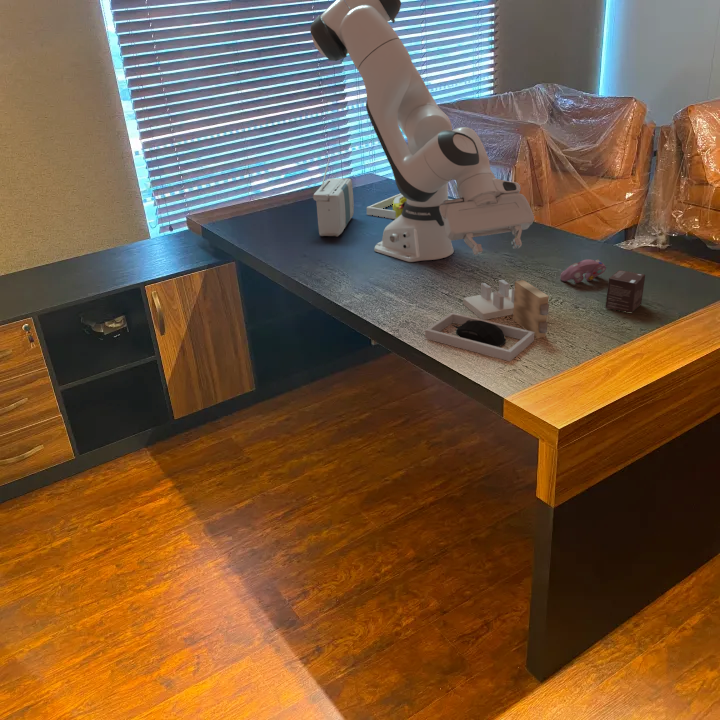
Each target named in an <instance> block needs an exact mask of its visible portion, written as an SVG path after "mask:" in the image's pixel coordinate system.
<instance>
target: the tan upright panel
mask: <svg viewBox="0 0 720 720" xmlns="http://www.w3.org/2000/svg"><path fill="white" fill-rule="evenodd" d="M514 288H515V292H514V312H513V314H512V315H513V316H512V320H513V321H514V323H516V324H518V325H519V326H521V328H522V329H524V330H528V331H532V332H534V338H536V339H539V338H545V337H546V336H547V333H548V324H549V323H548V315H549V312H550V311H549V309H550V308H549V307H550V305H549V299H550V298H549V297H550V296H549V295H548V294H546V293H544V292H543V291H542V290H540V289H538V288H537V287H535V286H534V285H532V284H530V283H529V282H527V281H526V280H524V279H521V280H516V281H514Z"/></svg>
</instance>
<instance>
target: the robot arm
mask: <svg viewBox="0 0 720 720" xmlns="http://www.w3.org/2000/svg"><path fill="white" fill-rule="evenodd" d="M401 5H402V2H401V0H335V1H333V3H331V4H330V5H329V6H328V7H327V8H326V9H325V10H324V11H323V12H322V13H321V15H320V14H318V16H317V17H316V18H315V19H314V20H313V22H312V23H311V25H310V33H311V39H312V42H313V45H314V47H315V48H316V50H317V51H318V52H319V54H321V55H322V56H323V57H325V58H326V59H328V60H329V61H334V62H337V61H340V60H343V59H344V58H346V57H347V55H349V57H350V59H351V61H352V62H353V64H354V66H355V68H356V70H357V71H358V73H359V74H360V76H361V78H362V81H363V83H364V87H365V91H366V92H365V93H366V103H365V108H366V112H367V115H368V118H369V121H370V123H371V126H372V127H373V129H374V132H375V134H376V137H377V139H378V141H379V143H380V145H381V148H382V150H383V153H384V154H385V157H386V158H387V159H386V160H387V161H388V163H389V165H390V168H391V171H392V174H393V178H394V181H395V185H396V188H397V189H398V191H399V194H400V193H401V194H402V195H403V196H404V197H405V198H407V201H406V202H404V203H403V204H401V205H399V206H401V207H399V209H402V208H403V211H402V214H401V215H400V216H399V217H398V218H396V219H393V221H390V223H388V224H387V225H386V226H385V228H384V229H383V233H382V239H381V241H380V242H377V243H376V244H375V246H374V252H377V253H380V254H383V255H385V256H390V257H392V258H395V259H399V260H401V261H405V262H407V263H414V262H420V261H432V260H433V261H435V260H440V259H443V258H448V257H449V256H451V255H452V254H453V253H454V251H455V250H454V247H453V244H452V241H459V240H463V241H464V243H465V244H466V245H467V247H469V248H470V249H472V253H473V255H474V256H476V255H481V254H482V253H483V248H482V246H483V245H482V244H481V243H477V242H476V241H475V240H474V239H473V238H477V237H485V236H492V235H497V234H499V235H500V234H503V233H512V235H513V236H514V238H513V239H512V240H511V246H512V249H521V247H522V245H523V243H522V240H521V236H522V234H523V233H522V232H523V231H525V230H528V229H529V228H530V227H531V225H533V222H534V220H535V217H534V216H535V215H534V213H533V211H532V208H531V206H530V203H529V201H528V199H527V197H526V196H525V195H524V194H522V193H520V192H521V190H522V188H521V185H520V184H519V182H515V181H508V180H503V179H499V178H496V176H495V174H494V173H493V172H492V170H491V165H490V159H489V155H488V152H487V150H486V148H485V146H484V144H483V141H482V140H481V138H480V137H479V135H478V134H477V132H476V131H475V130H474V129H473V128H470V127H465V126H464V127H463V126H462V127H456V128H454V129H453V125H452V122H451V119H450V118H449V116H448V115H447V114H446V113H445V112H444V111H443V110H442V109H441V108H440V106H439V105H438V104H437V102H436V100H435V99H434V97H433V95H432V94H431V92H430V90H429V88H428V86H426V84H425V82H424V80H423V78H422V76H421V74H420V73H419V71H418V69H417V68H416V66H415V64H414V63H413V61H412V58H411V56H410V54H409V51H408V49H407V48H406V46H405V45H404V43H403V42H402V40H401V38H400V37H399V35H398V34H397V33H396V30H394V28H393V27H392V25H390V24H389V22H392V24H394V23H395V22H396V17H397V16H398V14H399V13H400V11H401V7H402V6H401ZM403 134H404V136H405V137H406V138H407V142H406V139H405V137H404V136H403ZM452 180H453V181H455V182H456V191H457V194H458V197H459V198H452V199H453V200H448V199H449V183H450V182H451V181H452Z"/></svg>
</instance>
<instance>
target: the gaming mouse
mask: <svg viewBox="0 0 720 720" xmlns="http://www.w3.org/2000/svg"><path fill="white" fill-rule="evenodd" d="M451 325H452V327H454V328H455V334H456V336H458V337H462V338H466V339H469V340H473V341H477V342H481V343H485V344H489V345H492V346H496V347H501V346H503V345H504V344H505V343H506V341H507V339H506V336H505V335H504V334H503V332H502V330H501V329H500V328H499V327H497V326H496V325H495V324H491V323H488V322H484V321H480V320H472V321H470V320H468V321H466V323H464V324H463V325H461V324H460V325H459V326H458V325H453V324H451Z"/></svg>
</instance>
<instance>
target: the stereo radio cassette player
mask: <svg viewBox="0 0 720 720" xmlns="http://www.w3.org/2000/svg"><path fill="white" fill-rule="evenodd" d="M327 158H328V161H327V163H326V167H325V171H324V175H323V179H322V184H321V186H319V188H318V189H317V190H316V191H315V192H314V193H313V196H312V199H313V201H316V202H315V203H316V213H317V214H316V215H317V226H318V233H319V236H320V237H336V238H337V237H339V236H340V235H342V233H343V232H344V229H346V227H347V226H348V225H349V222H350V221H351V219H352V217H353V216H354V212H355V210H354V207H355V206H354V204H355V203H354V190H353V182H352V179H351V178H347V177H346V178H345V177H344V178H338V177H337V178H335V177H334V178H327V179H326V176H327V172H328V167H329V163H330V160H331V156H329V157H327Z"/></svg>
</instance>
